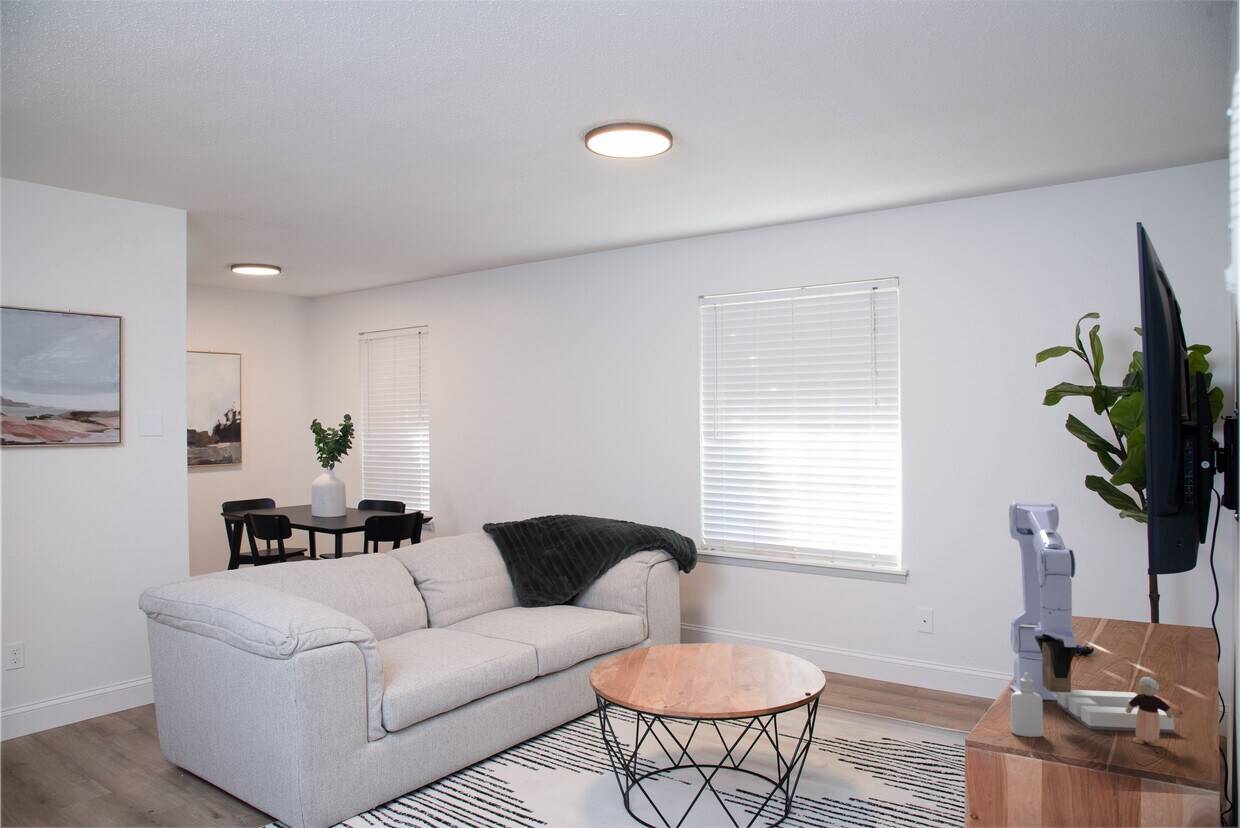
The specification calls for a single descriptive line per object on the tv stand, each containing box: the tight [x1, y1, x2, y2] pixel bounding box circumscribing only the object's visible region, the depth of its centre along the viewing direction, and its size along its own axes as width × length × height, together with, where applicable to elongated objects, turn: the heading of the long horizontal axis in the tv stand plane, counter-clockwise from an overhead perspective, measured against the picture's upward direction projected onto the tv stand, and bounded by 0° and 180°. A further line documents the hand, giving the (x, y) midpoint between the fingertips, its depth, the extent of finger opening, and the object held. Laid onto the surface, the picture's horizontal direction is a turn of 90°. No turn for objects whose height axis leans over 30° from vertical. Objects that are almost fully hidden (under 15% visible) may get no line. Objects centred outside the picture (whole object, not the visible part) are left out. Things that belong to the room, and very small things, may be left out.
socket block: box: [1056, 689, 1175, 734], centre depth 177 cm, size 16×16×4 cm
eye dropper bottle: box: [1010, 673, 1044, 738], centre depth 167 cm, size 4×6×12 cm
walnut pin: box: [1042, 642, 1072, 693], centre depth 172 cm, size 4×4×9 cm
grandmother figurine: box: [1126, 676, 1174, 747], centre depth 163 cm, size 8×4×13 cm, turn 69°
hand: (1056, 674), depth 172 cm, fingers closed on walnut pin, 4 cm apart
